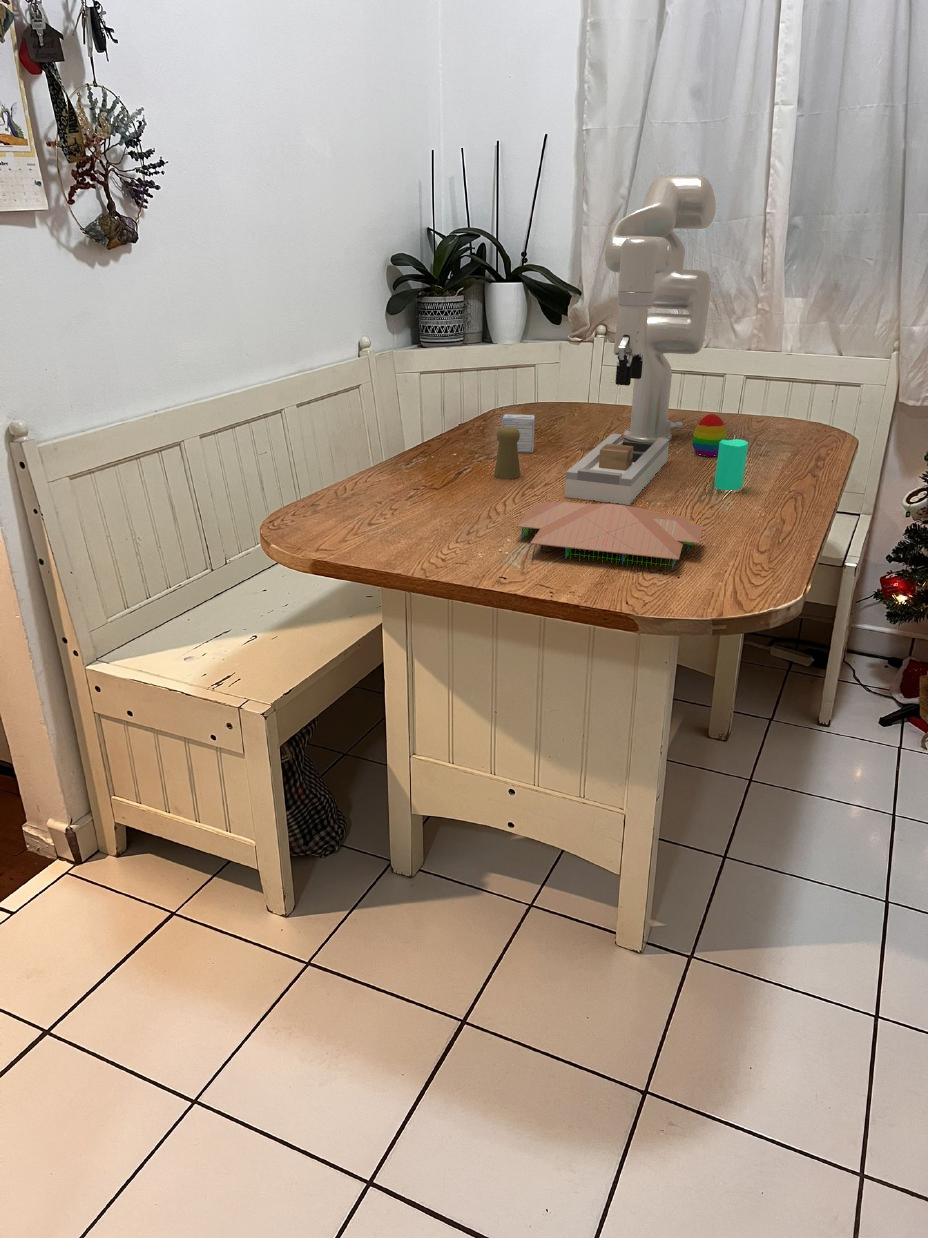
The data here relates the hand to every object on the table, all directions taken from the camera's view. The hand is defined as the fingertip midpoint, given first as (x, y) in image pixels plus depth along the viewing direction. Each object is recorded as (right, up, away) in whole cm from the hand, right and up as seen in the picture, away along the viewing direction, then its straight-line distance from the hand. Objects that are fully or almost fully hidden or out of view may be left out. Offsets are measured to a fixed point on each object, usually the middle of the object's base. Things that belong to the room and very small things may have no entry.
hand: (628, 381), depth 205 cm
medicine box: (-23, -10, +28) cm, 38 cm away
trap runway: (-1, -21, +6) cm, 21 cm away
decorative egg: (+24, -12, +26) cm, 37 cm away
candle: (+22, -24, -2) cm, 33 cm away
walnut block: (-3, -19, 0) cm, 19 cm away
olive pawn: (-27, -20, +7) cm, 34 cm away
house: (-10, -39, -34) cm, 53 cm away
